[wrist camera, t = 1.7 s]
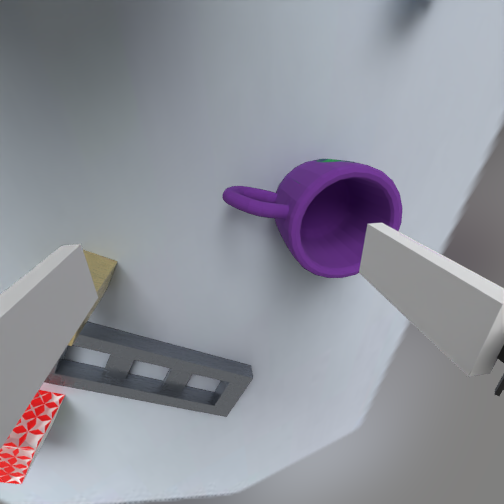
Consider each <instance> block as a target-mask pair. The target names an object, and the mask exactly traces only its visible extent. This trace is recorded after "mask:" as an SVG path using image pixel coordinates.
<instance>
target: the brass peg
mask: <svg viewBox="0 0 504 504" xmlns="http://www.w3.org/2000/svg"><path fill="white" fill-rule="evenodd" d="M83 252H84V255H85V258H86V261H87V264H88V267H89V270H90V274H91V277H92V280H93V283H94V286H95V289H96V292H97V295H98V299H97V300H96V302H95V303H94V305H93V307H92V308H91V310H90V311H89V313H88V314H87V316H86V317H85V319H84V321H83V322H82V324H81V325H80V327H79V328H78V330H77V331H76V333H75V334H74V336H73V338H72V339H71V341H70V342H69V344H68V345H69V346H72V345H73V343H74V342H75V340H76V338H77V337H78V335H79V334H80V332H81V330H82V329H83V327H84V325H85V324H86V322H87V321H88V319H89V317H90V316H91V314H92V313H93V311H94V309H95V308H96V306H97V305H98V303H99V301H100V300H101V298H102V297H103V295H104V293H105V292H106V290H107V288H108V285H109V282H110V280H111V277H112V275H113V272H114V269H115V267H116V264H117V261H114V260H111V259H108V258H106V257H103V256H100V255H97V254H94V253H91V252H88V251H85V250H83Z"/></svg>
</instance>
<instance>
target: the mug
mask: <svg viewBox="0 0 504 504" xmlns="http://www.w3.org/2000/svg"><path fill="white" fill-rule="evenodd" d="M223 200H224V201H225V202H226V203H227V204H229V205H231V206H233V207H235V208H237V209H239V210H242V211H244V212H247V213H249V214H253V215H256V216H261V217H268V218H275V221H276V225H277V227H278V229H279V232H280V234H281V236H282V238H283V240H284V242H285V243H286V245H287V247H288V249H289V250H290V252H291V253H292V255H293V256H294V258H295V259H296V260H297V261H298V262H299V263H300V265H301V266H302V267H303V268H304V269H306V270H308V271H310V272H311V273H313V274H315V275H319V276H323V277H327V278H343V277H347V276H352V275H355V274H357V273H359V269H360V263H361V258H362V252H363V247H364V241H365V235H366V230H367V224H370V223H384V224H385V225H387V226H389V227H391V228H393V229H395V230H396V231H399V228H400V225H401V219H402V204H401V198H400V194H399V191H398V190H397V188H396V186H395V184H394V182H393V180H391V179H390V178H389V177H388V176H387V175H386V174H385V173H383V172H382V171H380V170H378V169H375V168H373V167H370V166H368V165H364V164H360V163H355V162H350V161H342V160H332V159H319V160H314V161H309V162H305V163H303V164H301V165H299V166H297V167H295V168H294V169H293V170H292V171H291V172H290V173H288V174H287V175H286V176H285V178H284V179H283V181H282V182H281V183H280V185H279V187H278V189H277V192H276V193H274V192H270V191H266V190H262V189H257V188H251V187H244V186H232V187H229V188H227V189H226V190H225V191H224V193H223Z"/></svg>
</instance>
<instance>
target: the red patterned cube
mask: <svg viewBox="0 0 504 504" xmlns="http://www.w3.org/2000/svg"><path fill="white" fill-rule="evenodd" d="M64 396H65V395H63V394H58V393H53V392H52V393H51V392H47V391H42V390H38V392H37V393H36V395H35V396H34V398H33V400H32V401H31V403H30V404H29V406H28V407H27V409H26V410H25V412H24V414H23V415H22V417H21V418H20V420H19V421H18V423H17V424H16V426H15V427H14V429H13V431H12V432H11V434H10V435H9V437H8V438H7V440H6V441H5V443H4V445H3V446H2V448H1V449H0V482H4V483H15V484H22V483H23V481H24V479H25V477H26V475H27V473H28V471H29V469H30V468H31V466H32V464H33V462H34V460H35V458H36V456H37V454H38V452H39V450H40V448H41V446H42V444H43V443H44V441H45V439H46V437H47V435H48V433H49V431H50V429H51V427H52V425H53V422H54V420H55V418H56V415H57V413H58V411H59V408H60V406H61V403H62V401H63V399H64Z"/></svg>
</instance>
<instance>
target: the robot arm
mask: <svg viewBox="0 0 504 504" xmlns="http://www.w3.org/2000/svg"><path fill="white" fill-rule="evenodd" d="M359 273H360V274H361V275H362V276H363V277H364V278H365V279H366V280H367V281H368V282H369V283H370V284H371V285H372V286H373V287H375V288H376V289H377V290H378V291H379V292H380V293H381V294H382V295H383V296H384V297H385V298H386V299H387V300H388V301H389V302H390V303H391V304H392V305H393V306H394V307H396V308H397V309H398V310H399V311H400V312H401V313H402V314H403V315H404V316H405V317H406V318H407V319H408V320H409V321H410V322H411V323H412V324H413V325H414V326H415V327H417V328H418V329H419V330H420V331H421V332H422V333H423V334H424V335H425V336H426V337H427V338H428V339H429V340H430V341H431V342H432V343H433V344H434V345H436V347H438V348H439V349H440V350H441V351H442V352H443V353H444V354H445V355H446V356H447V357H448V358H449V359H450V360H452V361H453V363H454V364H455V365H456V366H458V367H459V368H460V369H461V370H462V371H463V372H464V373H465V374H466V375H467V376H468V377H471V376H477V375H483V374H490V373H491V371H492V369H493V367H494V365H495V363H496V361H497V359H499V360H500V361H502V362H503V363H504V288H502V287H500V286H498V285H496V284H495V283H493V282H491V281H489V280H487V279H485V278H484V277H482V276H480V275H478V274H476V273H474V272H472V271H471V270H469V269H466V268H465V267H463V266H461V265H459V264H458V263H456V262H454V261H452V260H450V259H448V258H446V257H445V256H443V255H441V254H439V253H437V252H435V251H434V250H432V249H430V248H428V247H426V246H424V245H422V244H421V243H419V242H417V241H415V240H413V239H411V238H409V237H408V236H406V235H404V234H402V233H400V232H398V231H396V230H395V229H393V228H391V227H389V226H387V225H385V224H384V223H370V224H367V230H366V235H365V241H364V247H363V252H362V258H361V263H360V269H359ZM97 299H98V295H97V292H96V289H95V286H94V283H93V280H92V277H91V274H90V270H89V267H88V264H87V261H86V258H85V255H84V252H83V248H82V245H81V244H75V245H62V246H60V247H59V248H58V249H57V250H55V251H54V252H53V253H52V254H50V255H49V256H48V257H47V258H45V259H44V260H43V261H42V262H40V263H39V264H38V265H37V266H35V267H34V268H33V269H32V270H30V271H29V272H28V273H27V274H25V275H24V276H23V277H22V278H20V279H19V280H18V281H17V282H15V283H14V284H13V285H12V286H11V287H9V288H8V289H7V290H6V291H4V292H3V293H2V294H1V295H0V449H1V448H2V446H3V445H4V443H5V441H6V440H7V438H8V437H9V435H10V434H11V432H12V431H13V429H14V427H15V426H16V424H17V423H18V421H19V420H20V418H21V417H22V415H23V414H24V412H25V410H26V409H27V407H28V406H29V404H30V403H31V401H32V400H33V398H34V396H35V395H36V393H37V392H38V390H39V389H40V387H41V386H42V384H43V383H44V381H45V379H46V378H47V376H48V375H49V373H50V372H51V370H52V369H53V367H54V365H55V364H56V362H57V361H58V359H59V358H60V356H61V355H62V353H63V352H64V350H65V348H66V347H67V345H68V344H69V342H70V341H71V339H72V338H73V336H74V334H75V333H76V331H77V330H78V328H79V327H80V325H81V324H82V322H83V321H84V319H85V317H86V316H87V314H88V313H89V311H90V310H91V308H92V307H93V305H94V303H95V302H96V300H97ZM502 390H504V374H503V376H502V378H501V380H500V382H499V383H498V385H497V387H496V389H495V395H498V396H500V394H501V392H502Z"/></svg>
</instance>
